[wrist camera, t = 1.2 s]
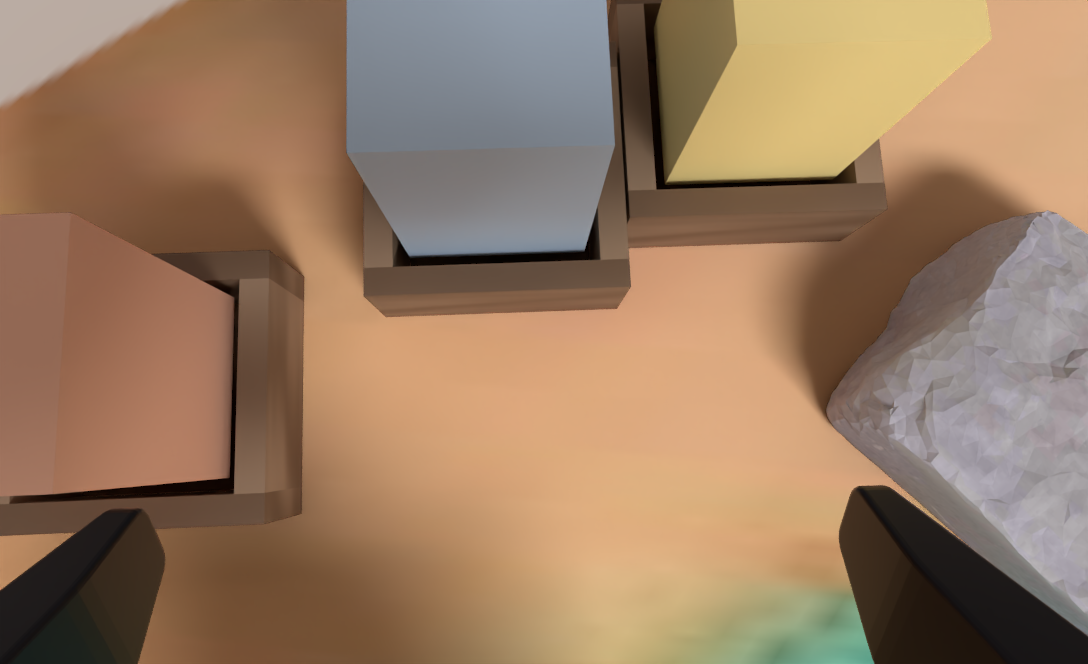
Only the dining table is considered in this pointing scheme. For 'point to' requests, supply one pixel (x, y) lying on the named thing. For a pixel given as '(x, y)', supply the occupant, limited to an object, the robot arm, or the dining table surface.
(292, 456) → the walnut sockets
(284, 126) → the dining table surface
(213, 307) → the tan block
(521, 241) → the blue-grey block
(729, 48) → the ochre block
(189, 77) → the dining table surface
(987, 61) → the dining table surface
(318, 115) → the dining table surface
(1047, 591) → the stone block
